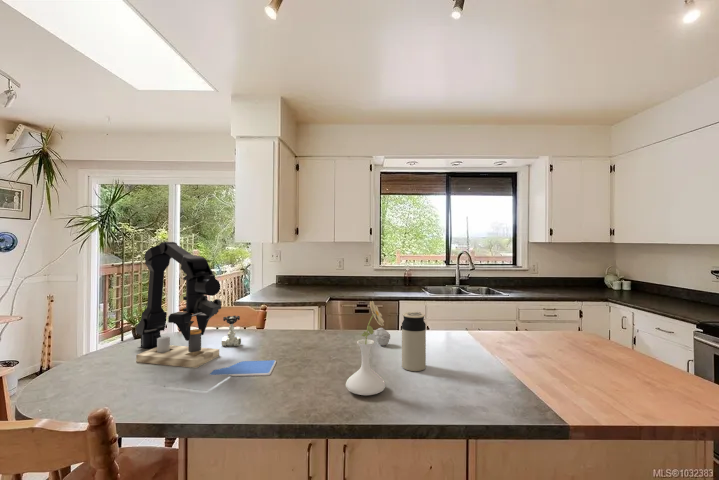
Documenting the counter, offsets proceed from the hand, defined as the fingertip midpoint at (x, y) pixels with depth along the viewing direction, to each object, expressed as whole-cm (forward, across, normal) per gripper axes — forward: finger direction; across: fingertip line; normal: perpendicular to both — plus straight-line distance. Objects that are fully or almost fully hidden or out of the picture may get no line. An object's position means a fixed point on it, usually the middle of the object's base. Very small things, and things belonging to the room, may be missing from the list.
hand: (194, 337), depth 117 cm
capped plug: (+4, 0, 0) cm, 4 cm away
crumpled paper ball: (+9, +34, -62) cm, 71 cm away
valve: (+9, +18, -2) cm, 20 cm away
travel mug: (+9, +12, -76) cm, 77 cm away
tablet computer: (+9, -2, -20) cm, 23 cm away
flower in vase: (+9, -8, -64) cm, 65 cm away
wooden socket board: (+8, 0, +6) cm, 11 cm away
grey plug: (+8, 0, +13) cm, 15 cm away
